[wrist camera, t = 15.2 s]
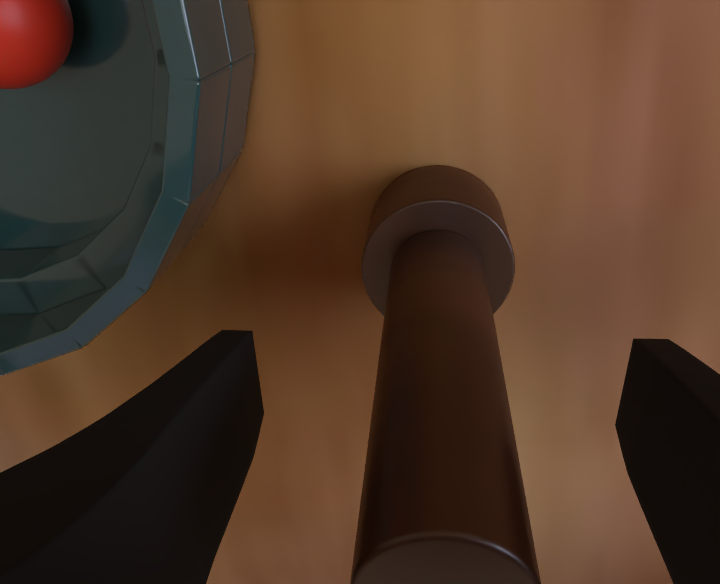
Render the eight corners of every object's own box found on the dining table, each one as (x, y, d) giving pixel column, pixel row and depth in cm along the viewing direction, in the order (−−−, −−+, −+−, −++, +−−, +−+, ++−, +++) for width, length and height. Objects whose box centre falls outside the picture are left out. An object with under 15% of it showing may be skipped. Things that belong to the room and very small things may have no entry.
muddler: (379, 292, 18) (321, 687, 8) (361, 173, 16) (257, 493, 6) (506, 281, 17) (603, 693, 8) (500, 156, 15) (616, 481, 6)
